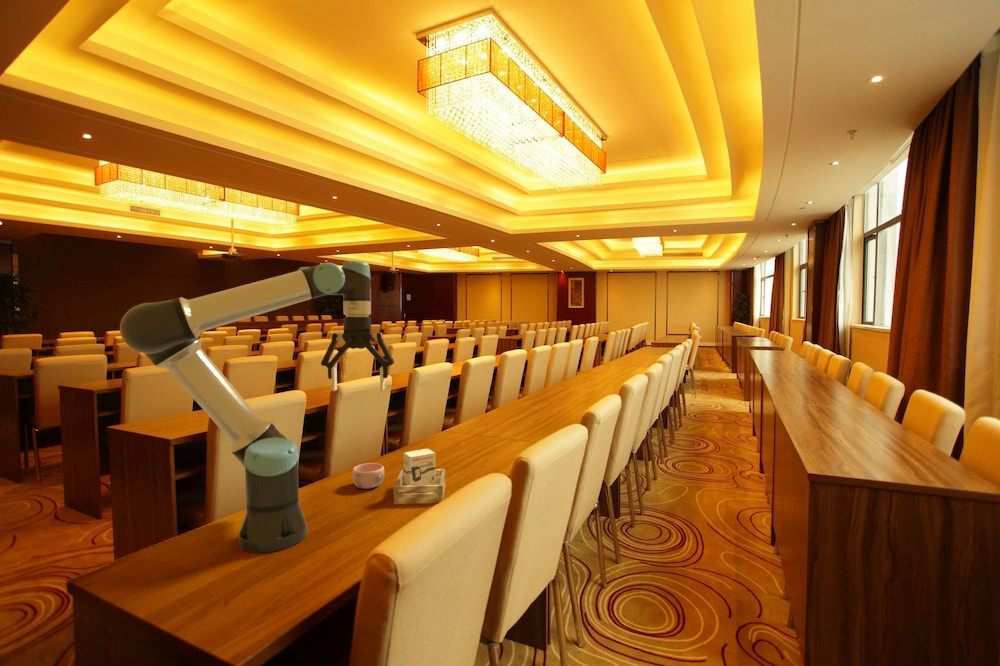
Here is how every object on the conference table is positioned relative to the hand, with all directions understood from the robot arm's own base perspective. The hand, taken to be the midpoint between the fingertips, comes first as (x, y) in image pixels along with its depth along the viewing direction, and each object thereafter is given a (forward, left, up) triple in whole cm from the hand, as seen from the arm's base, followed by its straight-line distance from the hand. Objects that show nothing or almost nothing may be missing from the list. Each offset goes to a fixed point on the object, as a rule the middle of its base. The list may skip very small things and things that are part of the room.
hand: (358, 390), depth 142 cm
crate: (+17, +5, -33) cm, 37 cm away
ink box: (+17, +5, -32) cm, 36 cm away
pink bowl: (0, +14, -33) cm, 36 cm away
